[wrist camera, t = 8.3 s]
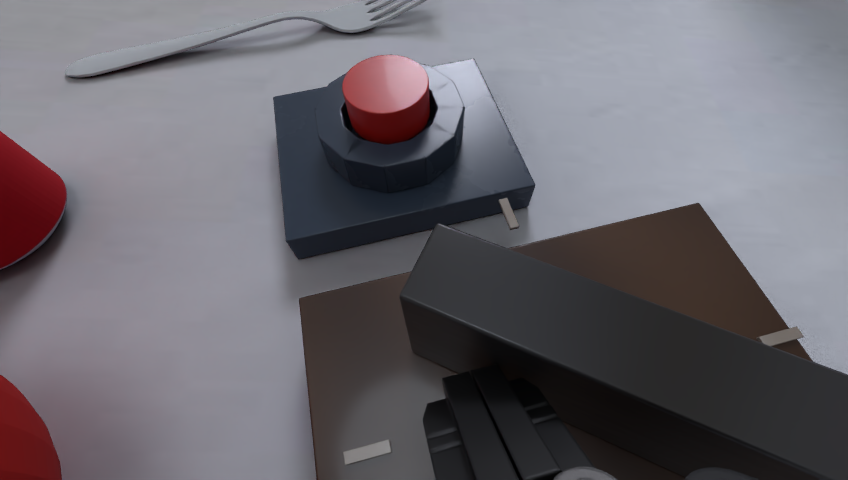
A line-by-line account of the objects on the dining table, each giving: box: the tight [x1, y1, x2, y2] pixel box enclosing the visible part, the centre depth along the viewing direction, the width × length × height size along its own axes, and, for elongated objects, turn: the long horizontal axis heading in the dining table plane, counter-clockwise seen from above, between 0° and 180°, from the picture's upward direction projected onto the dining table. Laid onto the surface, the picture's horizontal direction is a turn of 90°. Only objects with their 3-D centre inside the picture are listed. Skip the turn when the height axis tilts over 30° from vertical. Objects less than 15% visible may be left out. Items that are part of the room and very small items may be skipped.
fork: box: [65, 0, 426, 77], centre depth 25 cm, size 3×24×2 cm, turn 105°
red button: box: [342, 55, 430, 144], centre depth 17 cm, size 4×4×2 cm
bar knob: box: [399, 223, 848, 480], centre depth 10 cm, size 11×2×5 cm, turn 65°
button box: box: [273, 59, 535, 259], centre depth 19 cm, size 11×9×4 cm
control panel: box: [299, 198, 813, 480], centre depth 14 cm, size 16×15×3 cm
